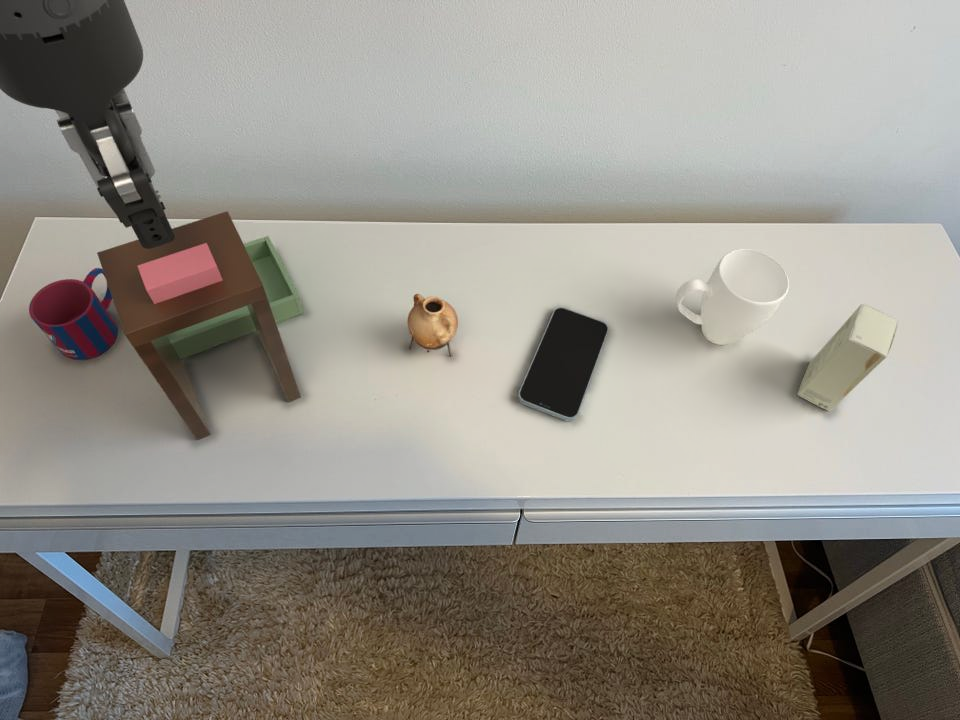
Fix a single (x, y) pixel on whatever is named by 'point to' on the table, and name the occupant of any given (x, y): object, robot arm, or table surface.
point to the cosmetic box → (848, 357)
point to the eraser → (179, 273)
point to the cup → (75, 317)
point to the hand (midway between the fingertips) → (153, 228)
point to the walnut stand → (191, 308)
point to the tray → (240, 321)
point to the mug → (737, 295)
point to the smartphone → (563, 364)
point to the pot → (432, 323)
